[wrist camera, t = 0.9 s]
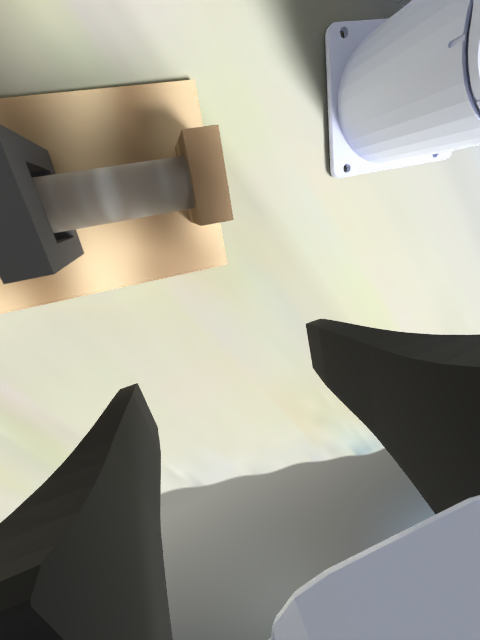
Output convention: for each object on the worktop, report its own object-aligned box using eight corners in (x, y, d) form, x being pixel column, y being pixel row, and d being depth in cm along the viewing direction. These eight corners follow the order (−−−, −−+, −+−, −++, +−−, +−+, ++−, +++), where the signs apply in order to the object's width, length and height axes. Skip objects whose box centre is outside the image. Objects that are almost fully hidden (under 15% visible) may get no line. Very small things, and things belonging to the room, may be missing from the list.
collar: (47, 150, 15) (-9, 118, 10) (84, 253, 17) (54, 274, 12) (8, 155, 15) (-73, 125, 9) (50, 260, 17) (3, 284, 11)
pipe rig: (193, 83, 17) (209, 37, 12) (225, 262, 20) (246, 278, 16) (-270, 129, 13) (-500, 85, 8) (-124, 338, 17) (-226, 387, 12)
